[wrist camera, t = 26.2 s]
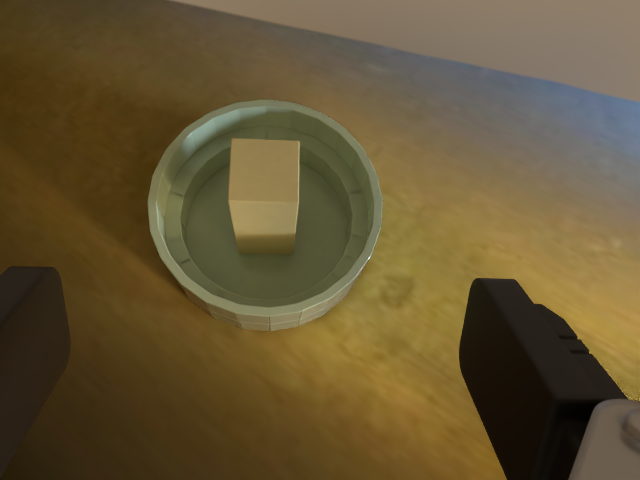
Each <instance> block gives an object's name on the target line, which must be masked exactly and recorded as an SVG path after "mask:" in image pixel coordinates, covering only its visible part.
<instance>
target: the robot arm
mask: <svg viewBox="0 0 640 480" xmlns="http://www.w3.org/2000/svg"><path fill="white" fill-rule="evenodd" d="M70 344H71V342H70V332H69V326H68V320H67V314H66V308H65V302H64V296H63V290H62V284H61V278H60V275H59V273H58V271H57V270H56V269H55V268H54V267H25V266H11V267H9V268H8V269H7V270H6V271H5V272H4V273H3V274H2V275H1V276H0V478H1V476H2V474H3V473H4V471H5V469H6V468H7V466H8V464H9V463H10V461H11V459H12V458H13V456H14V454H15V453H16V451H17V449H18V448H19V446H20V444H21V442H22V441H23V439H24V437H25V436H26V434H27V432H28V431H29V429H30V427H31V426H32V424H33V422H34V421H35V419H36V417H37V416H38V414H39V412H40V411H41V409H42V407H43V405H44V404H45V402H46V400H47V399H48V397H49V395H50V394H51V392H52V390H53V389H54V387H55V385H56V384H57V382H58V380H59V379H60V377H61V375H62V374H63V372H64V370H65V368H66V366H67V363H68V359H69V355H70ZM459 361H460V368H461V373H462V376H463V378H464V381H465V383H466V385H467V388H468V390H469V392H470V395H471V397H472V399H473V402H474V404H475V406H476V408H477V411H478V413H479V415H480V418H481V420H482V422H483V425H484V427H485V429H486V432H487V434H488V436H489V439H490V441H491V443H492V446H493V448H494V450H495V453H496V455H497V457H498V460H499V462H500V464H501V466H502V469H503V471H504V473H505V476H506V478H507V480H640V402H638V401H634V400H629V399H628V398H627V397H626V396H625V395H624V393H623V392H622V391H621V390H620V388H619V387H618V386H617V385H616V383H615V382H614V381H613V380H612V378H611V377H610V376H609V375H608V373H607V372H606V371H605V370H604V368H603V367H602V366H601V365H600V364H599V362H598V361H597V360H596V359H595V357H594V356H593V355H592V354H589V350H588V349H587V347H586V346H585V345H584V344H583V342H582V341H581V340H578V339H577V335H576V334H575V333H574V331H573V330H572V329H571V328H570V326H569V325H568V324H567V323H566V321H565V320H564V319H563V318H561V317H560V316H558V315H557V314H555V313H554V312H552V311H551V310H549V309H548V308H546V307H545V306H543V305H542V304H534V303H533V302H532V301H531V299H530V298H529V297H528V295H527V294H526V293H525V291H524V290H523V289H522V287H521V286H520V285H519V283H518V282H517V281H516V280H514V279H490V278H476V279H475V280H474V281H473V282H472V285H471V288H470V292H469V297H468V303H467V308H466V314H465V319H464V324H463V330H462V335H461V340H460V347H459Z"/></svg>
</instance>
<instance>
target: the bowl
mask: <svg viewBox="0 0 640 480" xmlns="http://www.w3.org/2000/svg"><path fill="white" fill-rule="evenodd" d="M232 138H239V139H264V140H290V141H299V142H300V151H299V205H298V214H297V223H296V232H295V241H294V250H293V255H275V254H239V253H238V249H237V244H236V239H235V234H234V229H233V224H232V219H231V215H230V210H229V205H228V185H229V168H230V151H231V139H232ZM147 202H148V203H147V206H148V218H149V229H150V233H151V236H152V238H153V241H154V243H155V246H156V248H157V251H158V254H159V256H160V258H161V260H162V262H163V263H164V265H165V266H166V268H167V269H168V271H169V272H170V274H171V275H172V277H173V278H174V280H175V281H176V282H177V284H178V285H179V286H180V287H181V289H182V290H183V291H184V293H185V294H186V295H187V296H188V298H189V299H190V300H191V301H192V302H193V303H194V304H195V305H197V306H198V307H199V308H201V309H202V310H204V311H205V312H206V313H208V314H209V315H210V316H212V317H213V318H215V319H217V320H220V321H223V322H225V323H228V324H231V325H233V326H236V327H239V328H242V329H252V330H262V331H274V330H280V329H286V328H292V327H297V326H300V325H303V324H305V323H307V322H309V321H311V320H314V319H316V318H318V317H320V316H322V315H324V314H325V313H327V312H328V311H329V310H330V309H331V308H333V307H334V306H335V305H336V304H337V303H339V302H340V301H341V300H342V299H344V297H345V296H346V295H347V293H348V292H349V291H350V289H351V288H352V286H353V285H354V283H355V282H356V281H357V279H358V278H359V276H360V274H361V273H362V271H363V269H364V267H365V266H366V264H367V262H368V260H369V259H370V257H371V255H372V253H373V250H374V247H375V244H376V241H377V238H378V235H379V232H380V229H381V221H382V202H383V200H382V195H381V190H380V186H379V182H378V177H377V173H376V171H375V169H374V167H373V165H372V163H371V162H370V160H369V158H368V156H367V154H366V152H365V150H364V149H363V147H362V146H361V145H360V144H359V143H358V142H357V141H356V140H355V139H354V138H353V136H352V135H351V134H350V133H349V132H348V131H347V130H346V129H345V128H344V127H343V126H341V125H339V124H338V123H336V122H335V121H333V120H332V119H330V118H329V117H327V116H326V115H324V114H323V113H320V112H319V111H316V110H313V109H310V108H308V107H305V106H302V105H299V104H296V103H293V102H285V101H276V100H268V99H266V100H265V99H263V100H254V101H245V102H237V103H234V104H231V105H228V106H225V107H222V108H219V109H216V110H214V111H211V112H209V113H207V114H206V115H204V116H203V117H201V118H199V119H198V120H196V121H195V122H193V123H192V124H190V125H189V126H187V127H186V128H185V129H184V130H183V131H182V132H181V133H180V134H179V135H178V136H177V137H176V138H175V140H174V141H173V142H172V143H171V144H170V145H169V146H168V147H167V149H166V150H165V152H164V154H163V156H162V158H161V159H160V161H159V163H158V165H157V167H156V169H155V171H154V173H153V176H152V180H151V185H150V190H149V195H148V200H147Z"/></svg>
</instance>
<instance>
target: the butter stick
mask: <svg viewBox="0 0 640 480" xmlns="http://www.w3.org/2000/svg"><path fill="white" fill-rule="evenodd" d="M299 151H300V142H299V141H290V140H264V139H239V138H232V139H231V151H230V168H229V185H228V205H229V210H230V215H231V219H232V224H233V229H234V234H235V239H236V244H237V249H238V253H239V254H275V255H293V250H294V241H295V232H296V223H297V214H298V205H299Z"/></svg>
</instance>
